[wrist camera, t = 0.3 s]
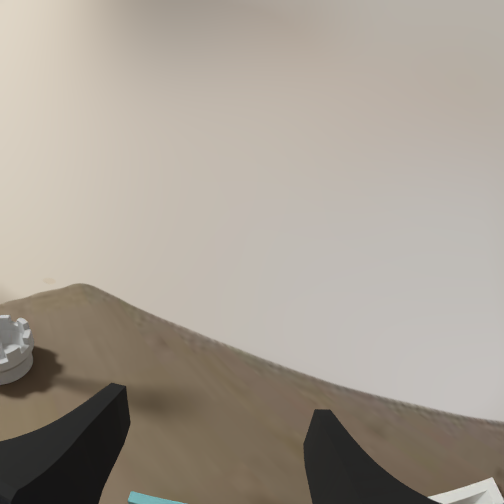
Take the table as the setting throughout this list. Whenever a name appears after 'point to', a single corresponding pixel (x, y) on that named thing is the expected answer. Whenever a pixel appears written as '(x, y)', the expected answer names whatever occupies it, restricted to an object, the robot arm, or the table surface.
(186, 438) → the table surface
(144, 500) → the gate
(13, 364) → the flag stand
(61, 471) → the robot arm
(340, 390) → the table surface
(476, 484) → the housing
